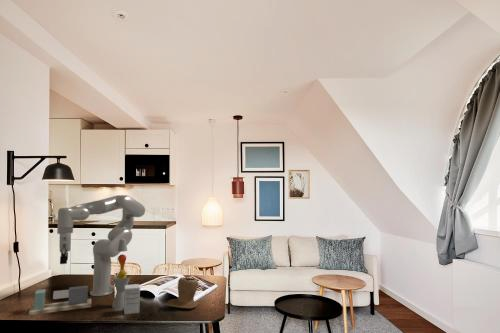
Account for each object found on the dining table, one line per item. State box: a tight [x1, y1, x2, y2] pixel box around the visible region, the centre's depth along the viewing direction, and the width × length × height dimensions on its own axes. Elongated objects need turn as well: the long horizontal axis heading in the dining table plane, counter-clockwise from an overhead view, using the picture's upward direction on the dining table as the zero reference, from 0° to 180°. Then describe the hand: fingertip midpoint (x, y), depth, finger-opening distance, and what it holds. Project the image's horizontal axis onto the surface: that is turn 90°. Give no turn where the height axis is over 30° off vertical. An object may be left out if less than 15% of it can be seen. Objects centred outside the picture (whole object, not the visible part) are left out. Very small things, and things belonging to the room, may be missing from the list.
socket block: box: [33, 288, 46, 310], centre depth 173 cm, size 4×7×8 cm, turn 26°
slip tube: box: [52, 289, 69, 300], centre depth 179 cm, size 16×3×3 cm, turn 116°
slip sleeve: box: [67, 285, 89, 306], centre depth 180 cm, size 9×5×8 cm, turn 116°
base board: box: [28, 298, 93, 316], centre depth 177 cm, size 28×10×2 cm, turn 116°
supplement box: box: [123, 283, 141, 315], centre depth 173 cm, size 7×7×13 cm
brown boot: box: [165, 276, 199, 310], centre depth 181 cm, size 15×12×15 cm
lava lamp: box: [111, 239, 131, 309], centre depth 182 cm, size 9×9×35 cm
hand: (63, 262), depth 185 cm, fingers open, 9 cm apart
